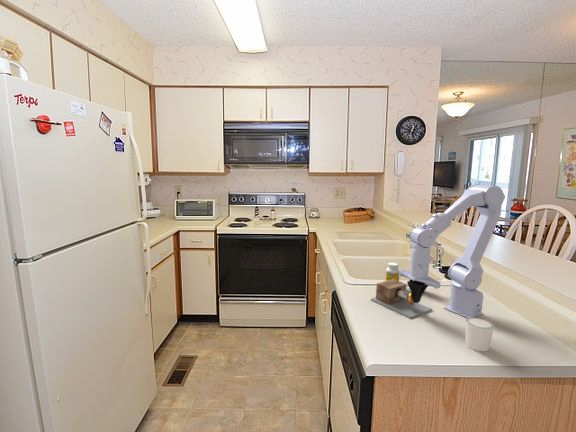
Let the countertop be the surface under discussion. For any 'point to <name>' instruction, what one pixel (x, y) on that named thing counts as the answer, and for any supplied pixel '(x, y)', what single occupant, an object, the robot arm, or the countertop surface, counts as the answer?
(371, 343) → the countertop surface
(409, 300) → the shaft
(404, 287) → the bearing block
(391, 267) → the supplement bottle
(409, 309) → the base plate
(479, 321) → the white cup
